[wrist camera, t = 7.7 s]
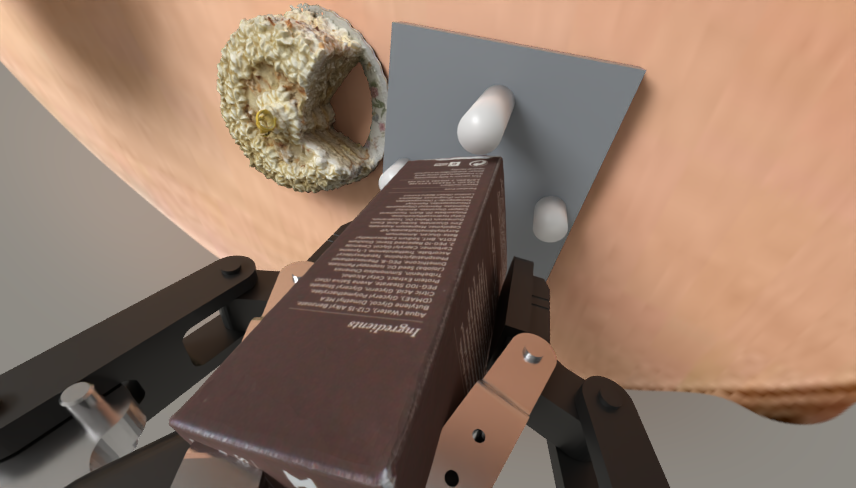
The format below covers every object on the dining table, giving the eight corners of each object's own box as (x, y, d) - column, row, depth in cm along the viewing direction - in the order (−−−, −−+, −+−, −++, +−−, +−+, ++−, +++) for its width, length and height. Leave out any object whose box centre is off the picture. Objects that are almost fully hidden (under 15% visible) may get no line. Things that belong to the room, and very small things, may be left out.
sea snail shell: (289, 182, 25) (229, 216, 21) (227, 21, 20) (131, 23, 16) (410, 181, 21) (366, 222, 17) (371, -20, 16) (294, -32, 12)
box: (400, 159, 15) (144, 422, 5) (504, 153, 13) (417, 493, 4) (422, 268, 18) (287, 558, 8) (508, 272, 17) (464, 623, 7)
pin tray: (639, 66, 14) (686, 93, 10) (534, 295, 23) (530, 372, 18) (401, 21, 16) (336, 24, 11) (383, 249, 24) (342, 308, 20)
